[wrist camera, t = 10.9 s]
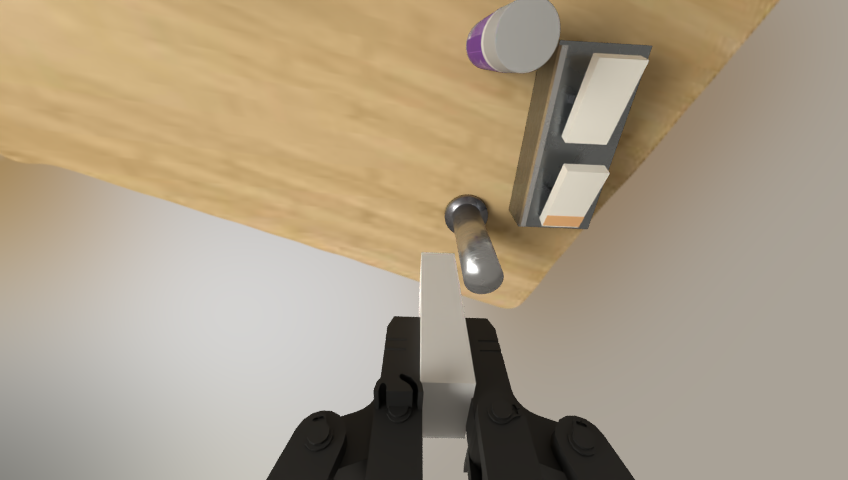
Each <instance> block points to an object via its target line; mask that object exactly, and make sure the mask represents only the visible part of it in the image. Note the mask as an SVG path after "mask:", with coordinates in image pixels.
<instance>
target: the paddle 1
mask: <svg viewBox="0 0 848 480" xmlns="http://www.w3.org/2000/svg"><path fill="white" fill-rule="evenodd" d="M648 62H649V60H648V59H646V58H644V57H643V56H638V55H621V54H604V53H593V55H592V58H591V61H590V63H589V66H588V68H587V71H586V74H585V76H584V79H583V81H582V84H581V87H580V89H579V92H578V95H577V97H576V100H575V102H574V105H573V108H572V110H571V113H570V115H569V118H568V121H567V123H566V126H565V128H564V131H563V134H562V136H561V137H562V138H563V140H564V141H565V143H580V144H600V145H607V143H608V141H609V139H610V137H611V135H612V133H613V131H614V129H615V127H616V125H617V123H618V121H619V119H620V117H621V115H622V113H623V111H624V109H625V107H626V105H627V103H628V101H629V99H630V97H631V95H632V93H633V91H634V89H635V87H636V85H637V83H638V81H639V79H640V77H641V76H642V74H643V72H644V70H645V68H646V66H647V64H648Z"/></svg>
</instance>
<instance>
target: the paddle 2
mask: <svg viewBox="0 0 848 480" xmlns="http://www.w3.org/2000/svg"><path fill="white" fill-rule="evenodd" d="M609 174H610V173H609V171H608V170H607V168H606V167H605V165H585V164H563V166H562V169H561V171H560V173H559V175H558V178H557V180H556V182H555V184H554V187H553V189H552V191H551V193H550V195H549V198H548V200H547V202H546V204H545V207H544V209H543V211H542V213H541V216H540V221H541V224H542V226H551V227H575V228H578V227H579V226H580V224H581V222H582V221H583V219H584V216H585V215H586V213H587V211H588V209H589V208H590V206H591V204H592V203H593V201H594V199H595V198H596V196H597V194H598V193H599V191H600V189H601V188H602V186H603V184H604V183H605V181H606V179H607V177H608V176H609Z"/></svg>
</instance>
